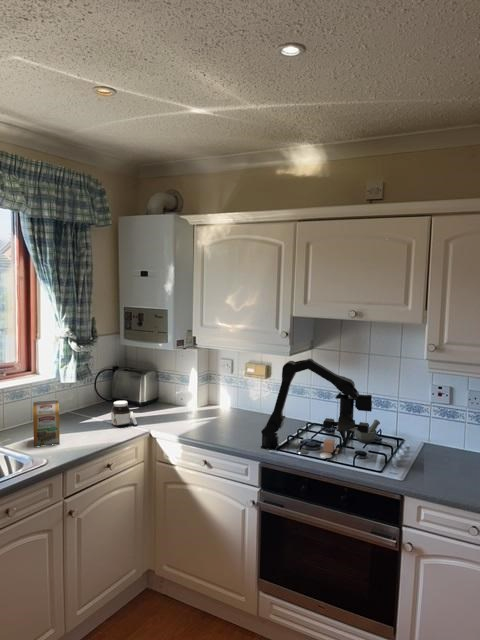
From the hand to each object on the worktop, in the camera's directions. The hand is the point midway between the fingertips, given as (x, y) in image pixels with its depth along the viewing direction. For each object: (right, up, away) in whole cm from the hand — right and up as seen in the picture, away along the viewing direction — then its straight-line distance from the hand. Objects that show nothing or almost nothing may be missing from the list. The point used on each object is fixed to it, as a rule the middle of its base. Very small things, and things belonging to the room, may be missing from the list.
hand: (345, 445), depth 207 cm
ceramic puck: (-9, -5, -3) cm, 11 cm away
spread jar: (-103, 0, +39) cm, 110 cm away
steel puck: (-18, -4, 0) cm, 19 cm away
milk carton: (-132, -2, +12) cm, 132 cm away
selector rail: (-11, -4, +5) cm, 13 cm away
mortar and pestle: (+13, -4, +15) cm, 20 cm away
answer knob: (-7, -3, +3) cm, 8 cm away
